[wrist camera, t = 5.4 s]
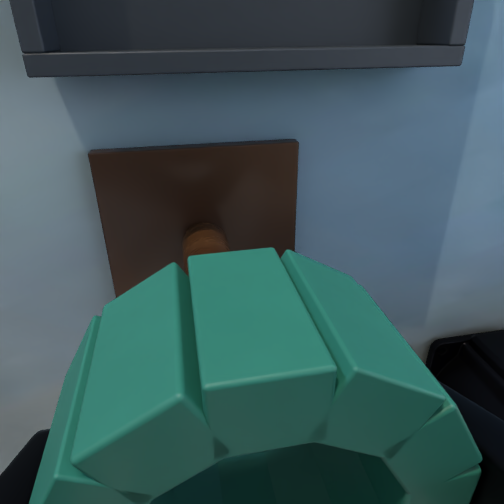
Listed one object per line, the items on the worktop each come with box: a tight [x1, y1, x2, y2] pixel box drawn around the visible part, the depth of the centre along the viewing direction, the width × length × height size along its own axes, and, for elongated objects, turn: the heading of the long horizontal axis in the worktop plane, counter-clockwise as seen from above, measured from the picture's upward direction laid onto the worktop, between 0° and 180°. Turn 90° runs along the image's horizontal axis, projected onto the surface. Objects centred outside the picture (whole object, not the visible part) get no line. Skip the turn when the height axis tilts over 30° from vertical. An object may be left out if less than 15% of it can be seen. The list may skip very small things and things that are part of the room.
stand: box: [88, 139, 299, 298], centre depth 15 cm, size 8×8×5 cm
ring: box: [29, 247, 482, 504], centre depth 7 cm, size 6×6×3 cm
